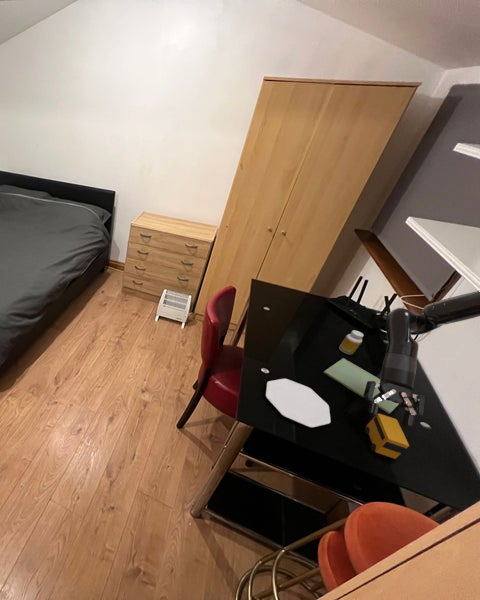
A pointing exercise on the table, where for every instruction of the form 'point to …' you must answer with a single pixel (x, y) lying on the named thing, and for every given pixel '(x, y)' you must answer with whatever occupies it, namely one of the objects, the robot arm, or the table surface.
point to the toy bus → (386, 436)
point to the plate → (298, 403)
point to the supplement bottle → (351, 342)
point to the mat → (357, 381)
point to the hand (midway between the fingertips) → (389, 420)
